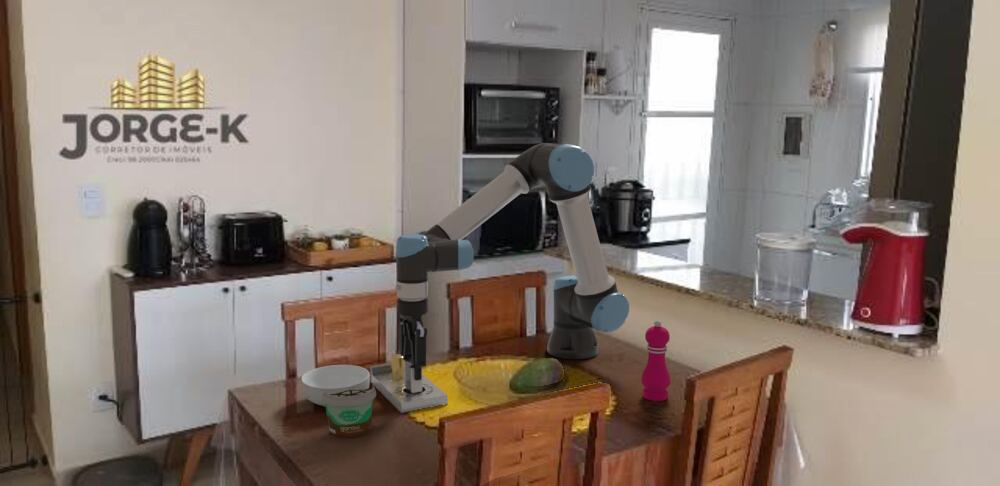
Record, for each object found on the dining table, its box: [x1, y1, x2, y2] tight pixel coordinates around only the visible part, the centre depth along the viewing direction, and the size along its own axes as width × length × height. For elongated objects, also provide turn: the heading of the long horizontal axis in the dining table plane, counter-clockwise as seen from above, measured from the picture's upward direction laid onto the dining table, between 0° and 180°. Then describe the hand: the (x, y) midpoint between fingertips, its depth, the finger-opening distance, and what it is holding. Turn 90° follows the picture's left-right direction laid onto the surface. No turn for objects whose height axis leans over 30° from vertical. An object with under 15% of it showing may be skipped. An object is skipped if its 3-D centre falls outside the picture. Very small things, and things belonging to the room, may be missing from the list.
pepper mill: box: [640, 319, 671, 402], centre depth 200 cm, size 7×7×20 cm
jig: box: [369, 353, 449, 414], centre depth 204 cm, size 12×24×8 cm, turn 27°
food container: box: [322, 384, 377, 439], centre depth 178 cm, size 12×6×10 cm, turn 114°
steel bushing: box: [405, 359, 422, 394], centre depth 199 cm, size 4×4×10 cm
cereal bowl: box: [300, 364, 371, 408], centre depth 198 cm, size 17×17×7 cm
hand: (413, 388), depth 200 cm, fingers closed on steel bushing, 4 cm apart
